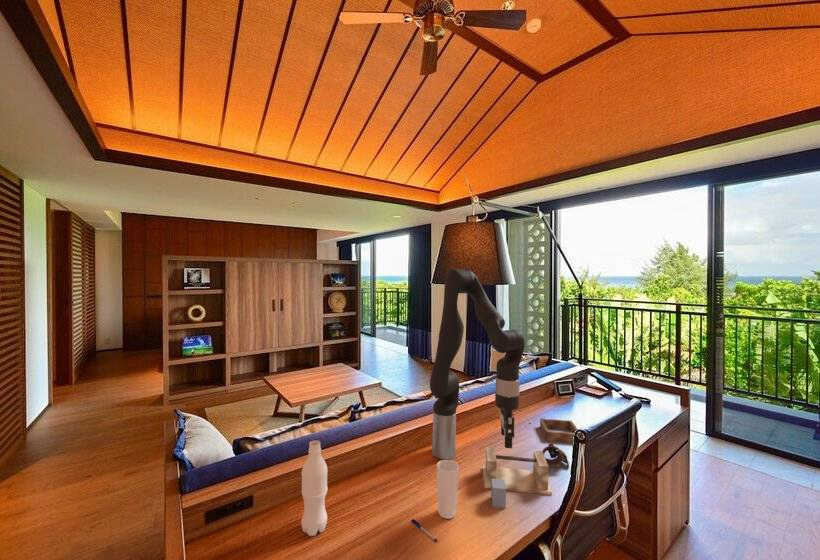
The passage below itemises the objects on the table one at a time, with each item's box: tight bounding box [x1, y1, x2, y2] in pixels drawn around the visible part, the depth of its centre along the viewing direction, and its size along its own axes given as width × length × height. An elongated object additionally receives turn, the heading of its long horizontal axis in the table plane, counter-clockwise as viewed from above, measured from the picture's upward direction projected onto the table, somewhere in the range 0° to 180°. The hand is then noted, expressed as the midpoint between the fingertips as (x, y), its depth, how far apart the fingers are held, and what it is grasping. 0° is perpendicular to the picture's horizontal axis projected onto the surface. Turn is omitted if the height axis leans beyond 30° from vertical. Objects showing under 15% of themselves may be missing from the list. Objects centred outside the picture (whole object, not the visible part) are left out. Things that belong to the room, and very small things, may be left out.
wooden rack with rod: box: [482, 446, 553, 496], centre depth 124 cm, size 22×12×9 cm, turn 81°
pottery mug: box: [541, 443, 570, 469], centre depth 136 cm, size 12×10×8 cm
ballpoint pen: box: [411, 518, 438, 543], centre depth 100 cm, size 10×1×1 cm, turn 41°
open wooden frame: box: [539, 418, 579, 444], centre depth 160 cm, size 14×14×4 cm
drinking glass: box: [435, 459, 460, 520], centre depth 107 cm, size 7×7×15 cm
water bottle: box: [300, 439, 329, 537], centre depth 100 cm, size 7×7×25 cm
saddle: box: [490, 479, 507, 509], centre depth 112 cm, size 4×5×6 cm
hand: (506, 441), depth 114 cm, fingers open, 8 cm apart
